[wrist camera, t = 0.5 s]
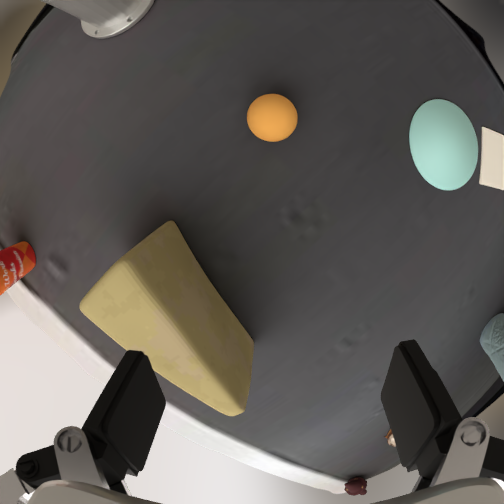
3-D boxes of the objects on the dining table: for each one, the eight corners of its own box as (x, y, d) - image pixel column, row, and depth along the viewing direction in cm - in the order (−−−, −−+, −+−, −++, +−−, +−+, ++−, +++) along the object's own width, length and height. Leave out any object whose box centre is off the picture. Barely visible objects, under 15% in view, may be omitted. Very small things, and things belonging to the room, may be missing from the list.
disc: (392, 120, 29) (393, 120, 29) (453, 87, 26) (454, 87, 26) (432, 206, 33) (433, 206, 33) (486, 166, 30) (487, 166, 29)
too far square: (479, 183, 31) (479, 183, 30) (481, 126, 27) (482, 126, 27) (510, 192, 30) (511, 192, 30) (514, 140, 27) (514, 140, 27)
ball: (239, 114, 31) (234, 107, 26) (278, 90, 29) (279, 79, 24) (265, 150, 32) (265, 150, 27) (304, 127, 31) (310, 122, 26)
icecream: (333, 495, 55) (354, 497, 60) (355, 493, 51) (374, 494, 56) (335, 476, 61) (356, 480, 65) (357, 472, 57) (375, 477, 62)
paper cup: (39, 280, 41) (-8, 316, 28) (16, 264, 41) (-30, 295, 28) (40, 243, 39) (-15, 276, 26) (15, 229, 38) (-37, 256, 25)
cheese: (276, 329, 41) (277, 407, 27) (228, 357, 44) (213, 431, 30) (173, 214, 36) (118, 256, 22) (129, 256, 38) (71, 309, 24)
